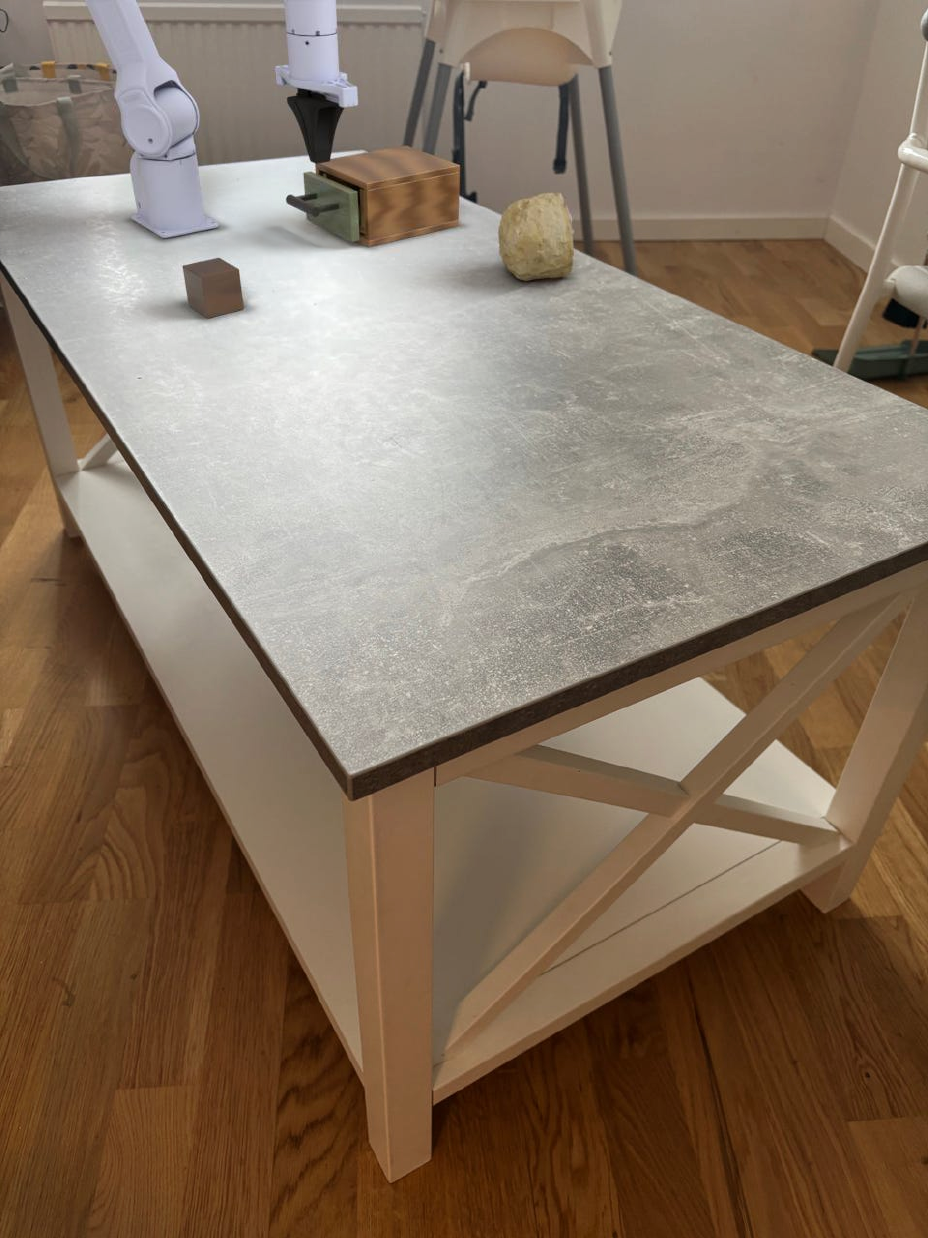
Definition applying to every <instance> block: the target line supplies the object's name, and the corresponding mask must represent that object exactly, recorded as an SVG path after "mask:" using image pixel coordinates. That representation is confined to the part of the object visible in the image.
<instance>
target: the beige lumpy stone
mask: <svg viewBox="0 0 928 1238" xmlns="http://www.w3.org/2000/svg"><path fill="white" fill-rule="evenodd" d="M572 224H573V218H572V215H571V212H570V210H569V207H568V206H567V203H565V198H563V195H562V193H561V192H543V193H540V194H538V195H536V196H535V195H533V196H530V197H528V198H523V199H519V200H515V201H514V202H513V203H511V204H510V205H508V206H507V208H506V209H505V210H504V211H503V214H502V215H501V217H500V221H499V225H498V231H497V235H498V236H497V237H498V254H499V255H500V257H501V261H502V263H503V265H504V266H505V267H506V269H507V271H508V272H510V273H511V274H512V275H513V276H514V277H515V278H517V279H519V280H521V281H524V282H529V281H532V280H533V281H534V280H538V279H548V278H550V279H557V278H568V277H569V275H570V273H571V272H572V270H573V266H574V255H575V249H574V247H575V246H574V233H575V229H573V225H572Z"/></svg>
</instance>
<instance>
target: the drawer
mask: <svg viewBox="0 0 928 1238" xmlns="http://www.w3.org/2000/svg"><path fill="white" fill-rule="evenodd" d="M302 175H303V188H304V189H303V191H304V194H302V195H297V196H295V195H294V194H288V195H287V196H286V198H285V202H286V205H289V206H291V207H293V208H295V209H297V210H299V211H301V212H303V213H305V214H306V221H307V222H310V223H312V224H314V225H316V226H318V227H320V228H322V229H324V230H326V231H328V232H331V233H333V234H334V235H337V236H339V237H340V238H343V239H344V240H347V241H348V242H351V243H354V242H358V240H359V232H361V233H364V234H365V212H364V189H363V188H361V187H359V186H356V185H354V184H352V183H349V182H347V181H345V180H342V179H340V178H338V177H335V176H333V175H331V174H328V173H326V172H325V173H323V176H320V175H318V174H316V172H313V171H306V172H302Z"/></svg>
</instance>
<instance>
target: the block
mask: <svg viewBox="0 0 928 1238" xmlns="http://www.w3.org/2000/svg"><path fill="white" fill-rule="evenodd" d="M182 272H183V279H184V286H185V292H186V297H187V298H186V299H187V303H188V306H189V307H190V308H192V309H193V310H194V311H196V312H197V313H199V314H200V315H202V316H203V317H204V318H206V319H211V318H216V317H219V316H223V315H227V314H230V313H235V312H239V311H243V310H244V309H245V308H244V307H245V306H244V299H243V298H244V297H243V291H242V283H241V276H240V275H241V274H240V269H239V268H238V267H236V266H234V265H233V264H231V263H229V262H227V261H226V260H224V259H222V258H221V257H216V258H215V257H214V258H211V259H205V260H201V261H196V262H193V263H188V264H184V265H182Z"/></svg>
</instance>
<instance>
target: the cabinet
mask: <svg viewBox="0 0 928 1238" xmlns="http://www.w3.org/2000/svg"><path fill="white" fill-rule="evenodd" d="M314 166H315V167H314V168H315V173H316V174H318V175H320V176H323V173H325V172H326V173H328V174H331V175H333V176H335V177H338V178H340V179H342V180H345V181H347V182H349V183H352V184H354V185H356V186H359V187H361V188H363V189H364V212H365V234H364V233H361V232H359V240H358V241H357V242H358V243H359V244H362V245H364V246H366V247H368V248H372V247H375V246H379V245H385V244H388V243H393V242H397V241H400V240H406V239H410V238H413V237H417V236H422V235H426V234H431V233H435V232H439V231H442V230H447V229H452V228H455V227H456V228H457V227H459V226H460V191H461V190H460V188H461V187H460V186H461V185H460V184H461V183H460V182H461V165H460V164H457V163H455V162H452V161H449V160H446V159H444V158H442V157H438V156H436V155H433V154H431V153H428V152H425V151H422V150H419V149H418V148H417V149H416V148H414V147H411V146H409V145H401V146H395V147H389V148H384V149H378V150H372V151H367V152H361V153H355V154H351V155H345V156H339V157H334V158H330V162H324V163H319V164H315V163H314Z"/></svg>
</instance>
